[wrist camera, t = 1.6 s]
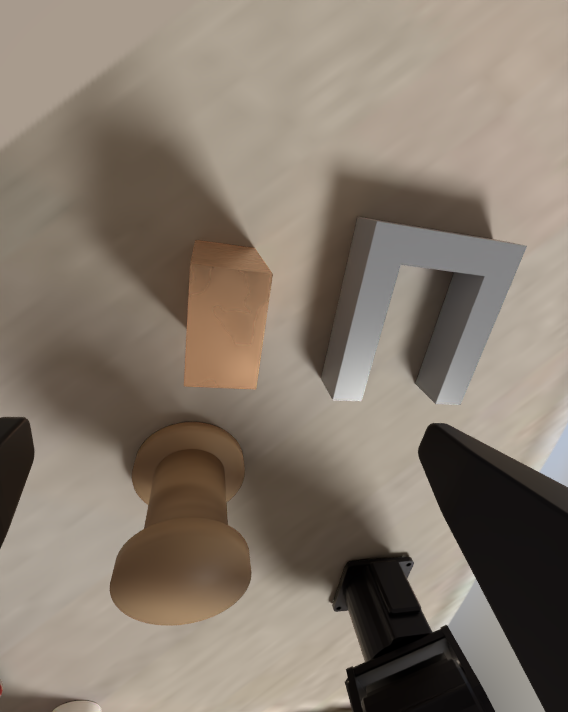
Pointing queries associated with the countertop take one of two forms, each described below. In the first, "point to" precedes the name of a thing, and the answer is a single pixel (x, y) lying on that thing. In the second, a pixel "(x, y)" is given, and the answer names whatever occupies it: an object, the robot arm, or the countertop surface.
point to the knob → (184, 529)
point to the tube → (78, 707)
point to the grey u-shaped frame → (456, 319)
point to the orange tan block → (225, 315)
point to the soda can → (1, 687)
